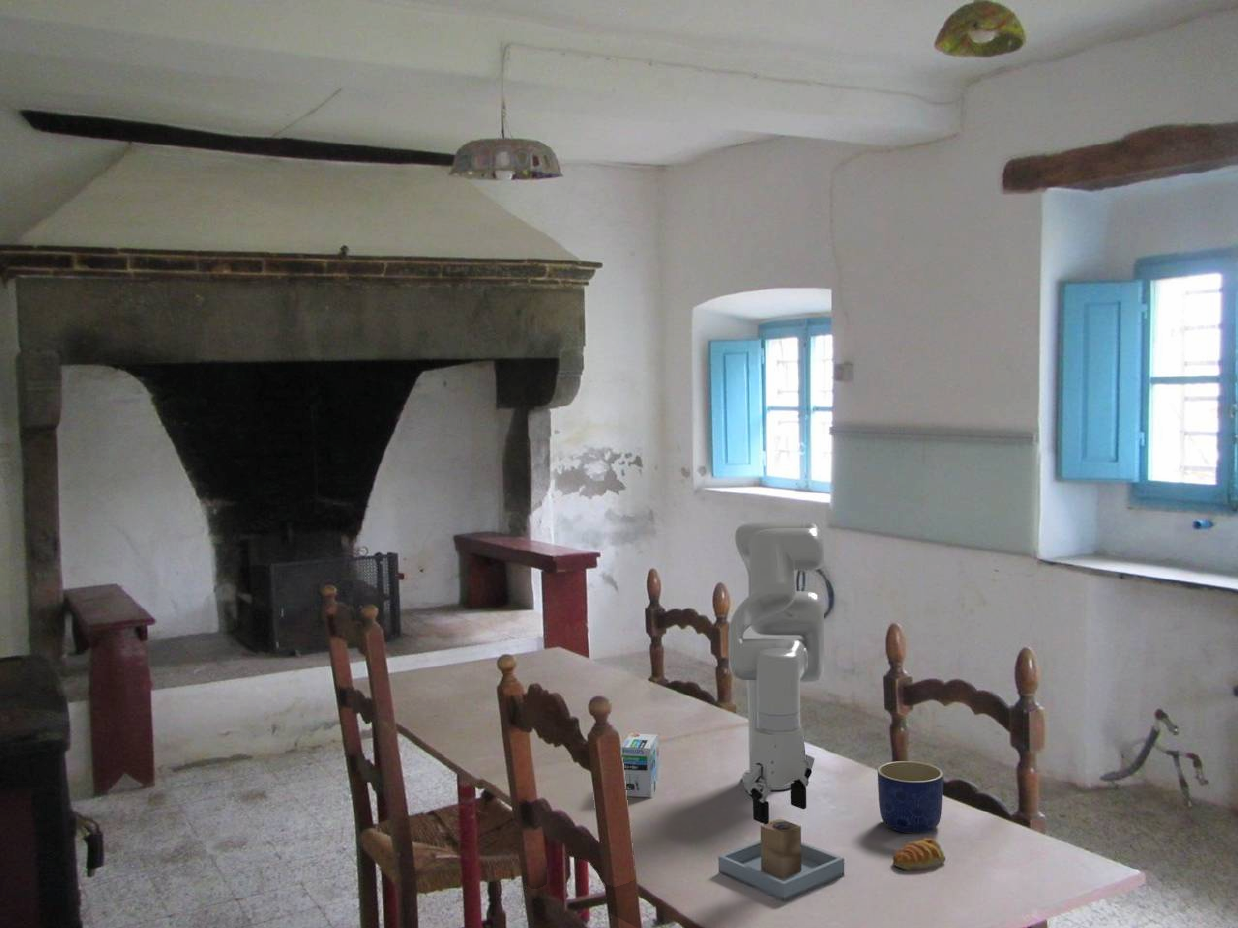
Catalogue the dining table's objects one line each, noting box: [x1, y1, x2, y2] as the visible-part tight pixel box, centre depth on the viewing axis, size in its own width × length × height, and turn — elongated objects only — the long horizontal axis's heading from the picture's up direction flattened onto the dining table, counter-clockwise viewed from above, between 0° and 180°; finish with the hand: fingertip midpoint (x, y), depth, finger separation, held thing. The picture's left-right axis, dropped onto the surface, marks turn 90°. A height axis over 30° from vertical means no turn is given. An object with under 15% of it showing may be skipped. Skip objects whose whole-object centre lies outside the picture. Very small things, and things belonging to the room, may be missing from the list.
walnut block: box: [760, 818, 802, 879], centre depth 197 cm, size 5×5×8 cm
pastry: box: [892, 837, 946, 871], centre depth 200 cm, size 9×7×4 cm
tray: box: [717, 839, 845, 903], centre depth 197 cm, size 16×16×3 cm
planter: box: [877, 760, 944, 834], centre depth 217 cm, size 12×12×11 cm
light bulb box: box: [620, 732, 660, 798], centre depth 242 cm, size 11×7×11 cm, turn 168°
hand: (780, 814), depth 197 cm, fingers open, 9 cm apart
